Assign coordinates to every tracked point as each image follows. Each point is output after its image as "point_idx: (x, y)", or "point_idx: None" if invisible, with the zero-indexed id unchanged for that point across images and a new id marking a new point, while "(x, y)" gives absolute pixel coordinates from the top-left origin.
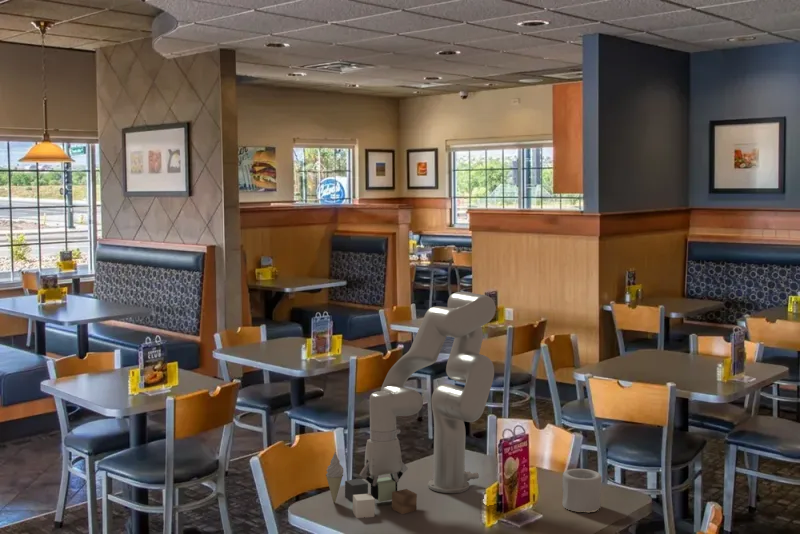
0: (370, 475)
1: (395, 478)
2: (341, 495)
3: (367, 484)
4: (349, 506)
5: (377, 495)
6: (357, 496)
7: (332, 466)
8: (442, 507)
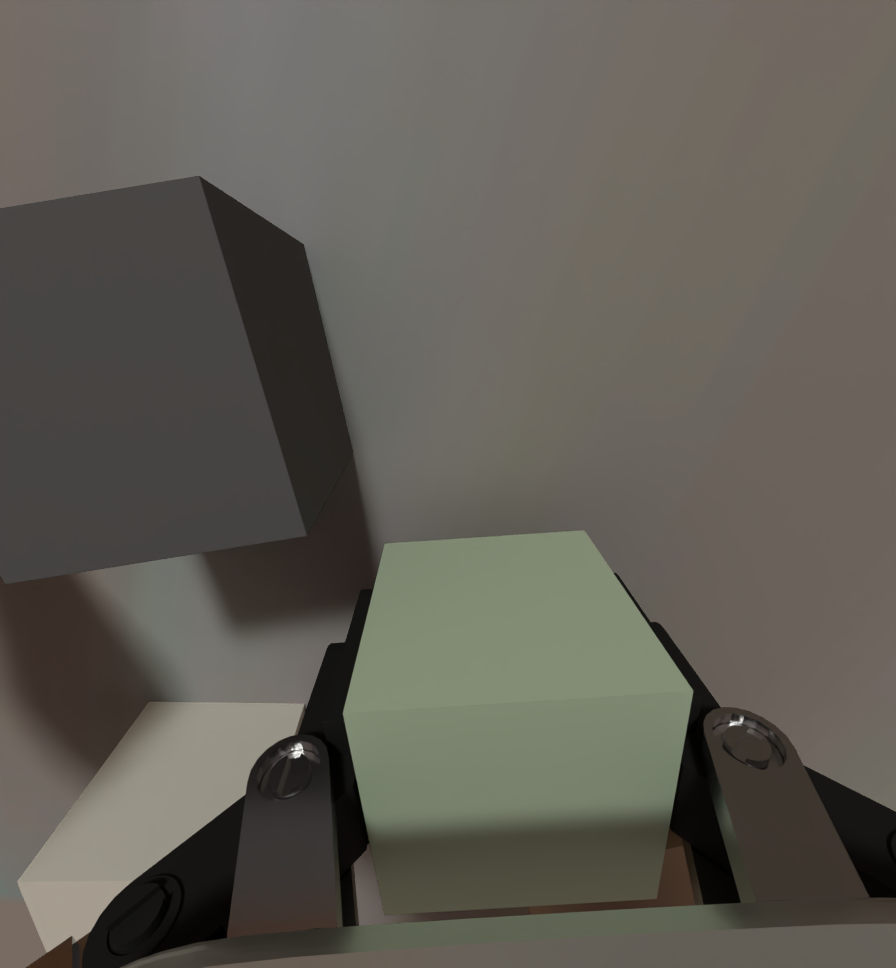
0: (230, 925)
1: (716, 900)
2: (39, 186)
3: (301, 531)
4: (128, 580)
5: None
6: (77, 925)
7: None
8: (846, 761)
